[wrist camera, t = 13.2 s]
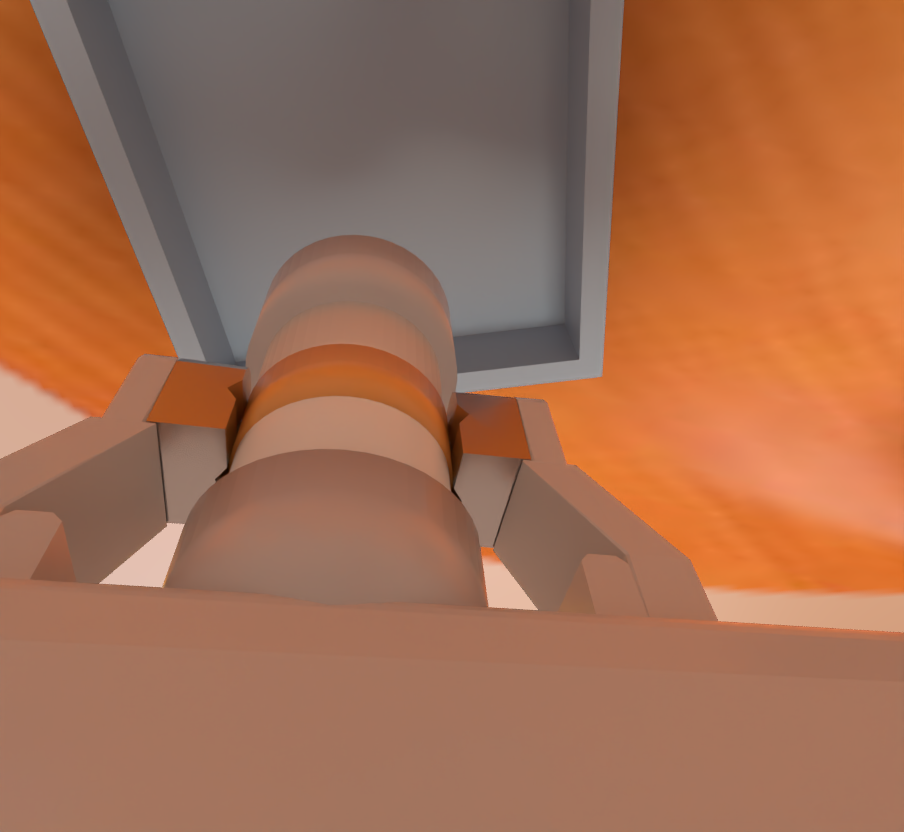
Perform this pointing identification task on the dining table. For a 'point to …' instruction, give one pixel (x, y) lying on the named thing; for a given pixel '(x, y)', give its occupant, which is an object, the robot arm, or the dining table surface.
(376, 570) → the cream orange rounded cylinder
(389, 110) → the tray
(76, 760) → the robot arm
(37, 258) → the dining table surface
